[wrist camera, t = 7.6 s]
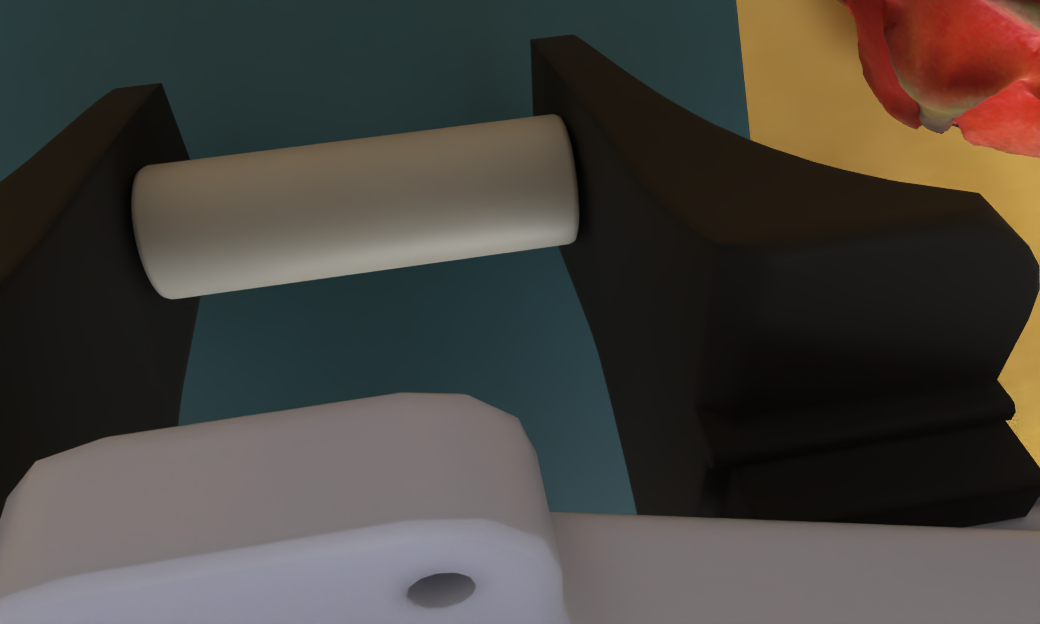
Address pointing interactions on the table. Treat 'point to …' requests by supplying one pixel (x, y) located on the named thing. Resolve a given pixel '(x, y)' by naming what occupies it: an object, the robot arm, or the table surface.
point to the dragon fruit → (956, 66)
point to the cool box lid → (371, 193)
